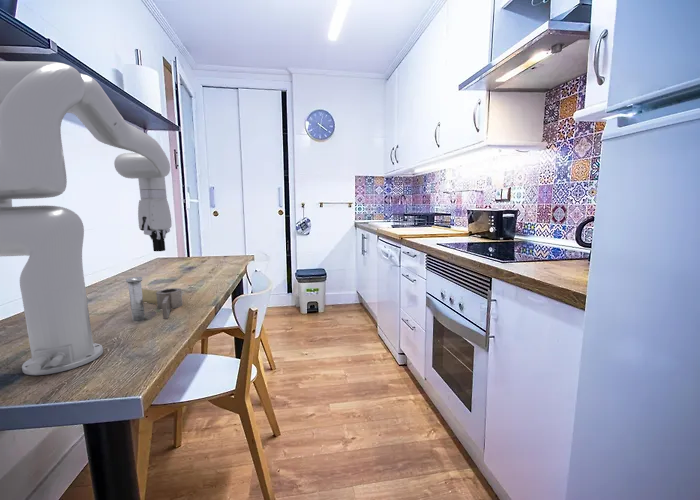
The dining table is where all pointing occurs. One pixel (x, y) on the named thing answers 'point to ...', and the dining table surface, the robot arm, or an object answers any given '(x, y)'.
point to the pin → (136, 298)
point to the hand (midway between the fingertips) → (159, 250)
